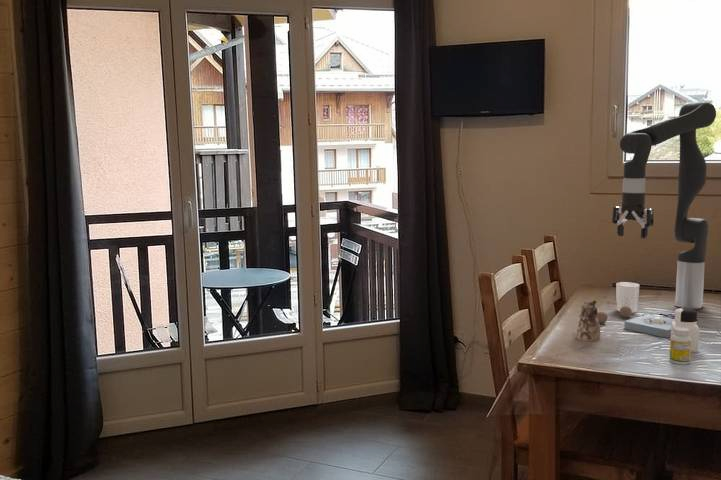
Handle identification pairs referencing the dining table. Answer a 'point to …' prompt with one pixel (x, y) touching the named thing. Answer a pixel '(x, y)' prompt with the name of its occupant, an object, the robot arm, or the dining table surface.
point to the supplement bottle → (680, 346)
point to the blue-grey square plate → (650, 325)
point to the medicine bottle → (687, 325)
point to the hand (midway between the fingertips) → (631, 237)
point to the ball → (657, 320)
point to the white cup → (627, 295)
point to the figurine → (588, 323)
